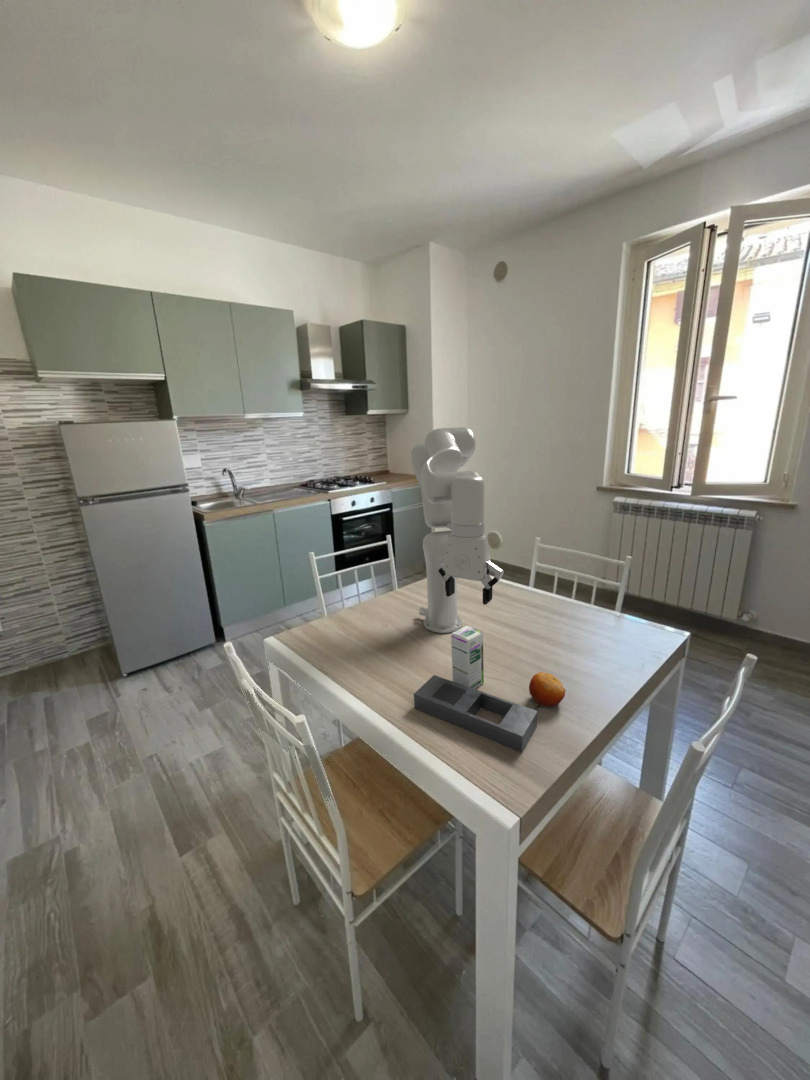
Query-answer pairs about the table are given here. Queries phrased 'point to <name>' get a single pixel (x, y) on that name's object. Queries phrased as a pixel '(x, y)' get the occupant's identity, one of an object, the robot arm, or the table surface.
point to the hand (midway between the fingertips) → (468, 598)
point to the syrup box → (467, 657)
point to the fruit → (546, 690)
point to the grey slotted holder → (464, 705)
